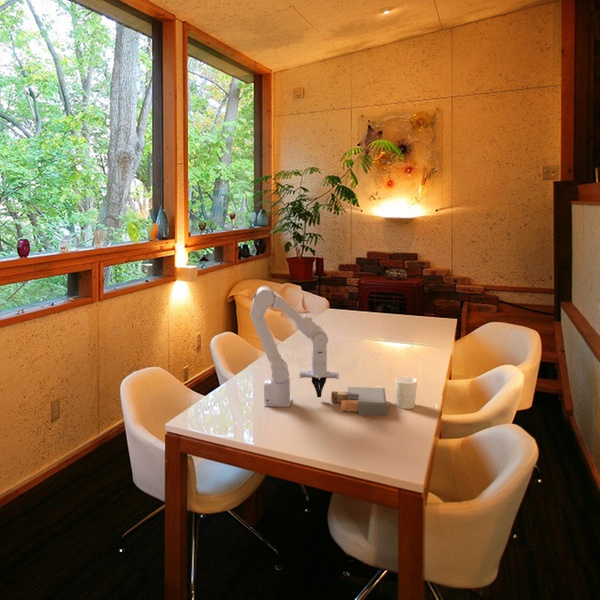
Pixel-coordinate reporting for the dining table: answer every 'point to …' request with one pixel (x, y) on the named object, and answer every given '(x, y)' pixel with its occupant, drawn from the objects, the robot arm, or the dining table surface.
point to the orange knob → (349, 405)
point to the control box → (369, 400)
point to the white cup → (405, 392)
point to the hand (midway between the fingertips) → (319, 396)
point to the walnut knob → (338, 396)
